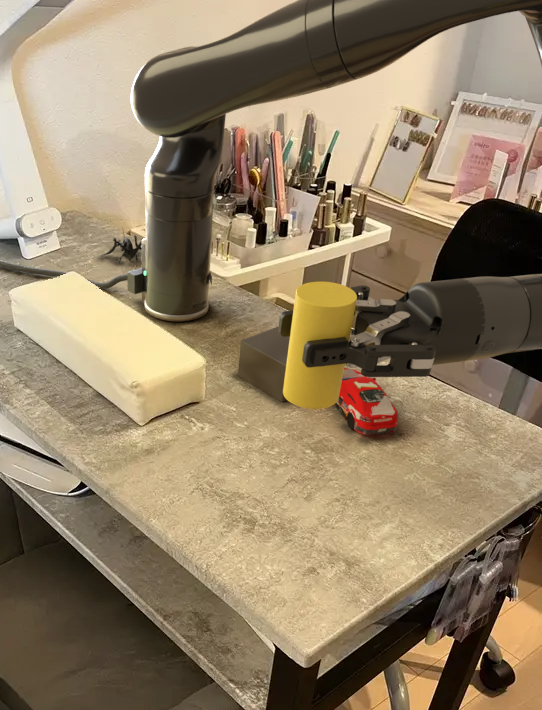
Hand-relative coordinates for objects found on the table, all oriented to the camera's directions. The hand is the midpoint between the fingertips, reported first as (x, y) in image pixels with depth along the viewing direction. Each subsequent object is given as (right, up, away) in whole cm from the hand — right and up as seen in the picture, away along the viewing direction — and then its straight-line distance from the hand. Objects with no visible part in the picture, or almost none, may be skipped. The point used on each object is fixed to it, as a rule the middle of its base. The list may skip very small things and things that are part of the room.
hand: (292, 339), depth 68 cm
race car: (+12, -4, +25) cm, 27 cm away
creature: (-18, +26, +60) cm, 68 cm away
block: (+3, +1, +30) cm, 30 cm away
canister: (+2, -4, +4) cm, 7 cm away
